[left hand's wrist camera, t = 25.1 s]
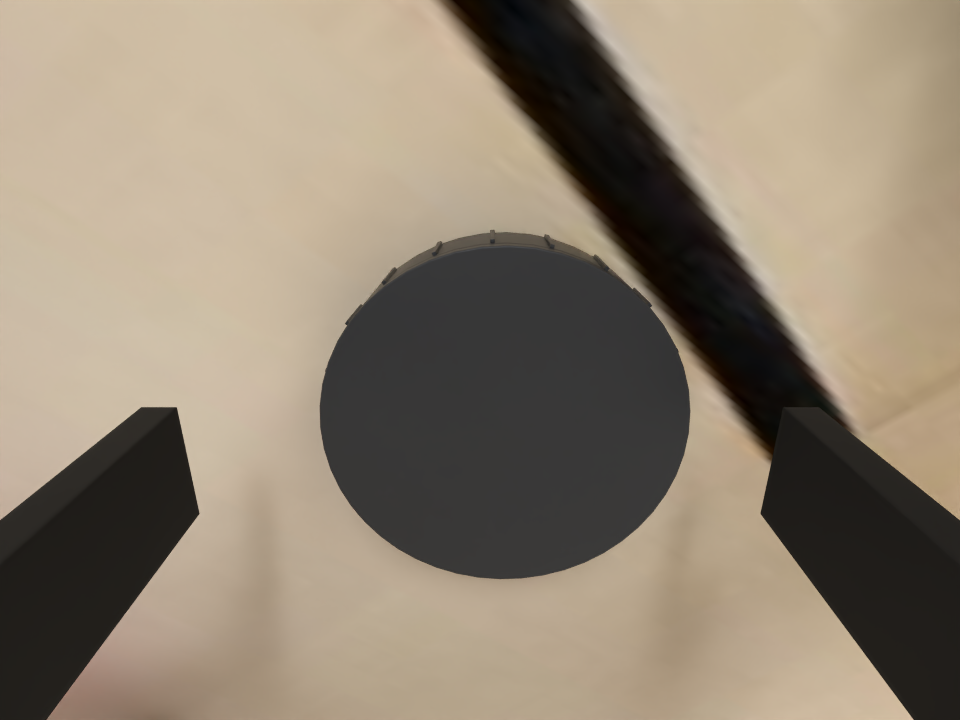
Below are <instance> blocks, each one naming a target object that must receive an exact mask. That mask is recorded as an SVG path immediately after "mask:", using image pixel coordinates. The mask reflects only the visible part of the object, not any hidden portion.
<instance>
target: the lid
mask: <svg viewBox="0 0 960 720" xmlns="http://www.w3.org/2000/svg"><path fill="white" fill-rule="evenodd" d="M651 306H652V305H651V304H650V303H649V302H648V301H647V300H646V299H645V298H644V297H643V296H642V295H641V294H640V293H639V292H638V291H637V290H636V289H635V288H633V289H631V288H630V287H629V286H628V285H627V284H626V283H625V282H624V281H623V280H622V279H621V278H620V277H619V276H618V275H617V274H616V273H615V272H614V271H613V270H611V269H610V268H609V267H608V266H607V265H606V264H605V263H604V262H603V261H602V260H601V259H600V258H599V257H598V256H597V255H594V257H593V256H591V255H589V254H587V253H585V252H583V251H581V250H579V249H577V248H575V247H573V246H570V245H567V244H565V243H562V242H559V241H556V240H554V239H551V238H550V237H549V235H546V234H545V236H544V237H540V236H536V235H531V234H521V233H508V232H504V233H495V231H494V230H490V233H486V234H478V235H473V236H468V237H462V238H458V239H455V240H452V241H449V242H446V243H443V244H442V242H441V241H440V242H438V243H437V244H436V246H435V247H433V248H431V249H429V250H427V251H425V252H423V253H421V254H419V255H417V256H415V257H414V258H412V259H411V260H409V261H408V262H407V263H405V264H404V265H402V266H401V267H399V268H398V269H396V268H395V267H394V268H393V269H392V270H391V271H390V273H389V274H388V275H387V276H386V277H385V279H384V280H383V281H382V283H381V284H380V285H379V287H378V288H377V289H376V290H375V291H374V293H373V294H372V295H371V296H370V297H369V299H368V300H367V301H366V302H365V303H364V305H360V306H359V307H358V308H357V309H356V311H355V312H354V313H353V314H352V315H351V317H350V318H349V319H348V320H347V321H346V323H345V324H346V325H347V327H346V328H345V330H344V331H343V333H342V335H341V336H340V338H339V339H338V341H337V343H336V346H335V348H334V350H333V353H332V355H331V357H330V359H329V362H328V365H327V368H326V371H325V372H326V373H325V376H324V380H323V384H322V392H321V400H320V428H321V434H322V440H323V446H324V450H325V453H326V456H327V460H328V463H329V466H330V469H331V471H332V473H333V475H334V477H335V479H336V482H337V484H338V486H339V488H340V489H341V491H342V493H343V494H344V496H345V497H346V499H347V500H348V502H349V503H350V505H351V506H352V507H353V509H354V510H355V511H356V512H357V513H358V514H359V516H360V517H361V518H362V519H363V520H364V521H365V523H367V524H368V525H369V526H370V527H371V528H372V529H373V530H374V531H375V532H376V533H377V534H379V535H380V536H381V537H382V538H384V539H385V540H386V541H388V542H389V543H391V544H392V545H393V546H395V547H396V548H398V549H399V550H401V551H403V552H405V553H406V554H408V555H410V556H412V557H414V558H415V559H417V560H420V561H422V562H425V563H427V564H429V565H432V566H434V567H437V568H440V569H443V570H447V571H450V572H453V573H457V574H462V575H468V576H473V577H480V578H493V579H515V578H527V577H535V576H542V575H546V574H550V573H554V572H558V571H562V570H566V569H568V568H571V567H574V566H577V565H579V564H582V563H585V562H587V561H589V560H591V559H593V558H595V557H597V556H599V555H601V554H603V553H604V552H606V551H608V550H609V549H611V548H612V547H614V546H615V545H617V544H618V543H620V542H621V541H623V540H624V539H625V538H626V537H627V536H629V535H630V534H631V533H632V532H633V531H635V530H636V529H637V528H638V527H639V526H640V525H641V524H642V523H643V522H644V521H645V520H646V519H647V518H648V517H649V516H650V515H651V514H652V512H653V511H654V510H655V509H656V507H657V506H658V504H659V503H660V502H661V500H662V499H663V498H664V496H665V495H666V493H667V491H668V489H669V488H670V486H671V484H672V482H673V480H674V478H675V477H676V474H677V472H678V469H679V466H680V464H681V461H682V458H683V456H684V452H685V447H686V443H687V438H688V434H689V422H690V401H689V389H688V384H687V380H686V375H685V371H684V367H683V364H682V361H681V359H680V356H679V354H678V349H677V348H676V346H675V344H674V342H673V341H672V339H671V337H670V335H669V334H668V332H667V330H666V328H665V327H664V325H663V324H662V322H661V321H660V320H659V319H658V317H657V316H656V315H655V313H654V312H653V311H652V310H651V308H650V307H651Z"/></svg>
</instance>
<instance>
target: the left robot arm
mask: <svg viewBox="0 0 960 720" xmlns="http://www.w3.org/2000/svg"><path fill="white" fill-rule="evenodd" d="M198 515H199V509H198V505H197V500H196V495H195V491H194V486H193V481H192V477H191V472H190V467H189V463H188V458H187V453H186V448H185V444H184V439H183V434H182V430H181V425H180V420H179V416H178V411H177V407H141V408H140V409H139V410H137V411H136V412H135V413H134V414H132V415H131V416H130V417H129V418H127V419H126V420H125V421H124V422H122V423H121V424H120V425H119V426H117V427H116V428H115V429H114V430H112V431H111V432H110V433H109V434H107V435H106V436H105V437H104V438H102V439H101V440H100V441H99V442H97V443H96V444H95V445H94V446H92V447H91V448H90V449H89V450H87V451H86V452H85V453H84V454H82V455H81V456H80V457H79V458H78V459H76V460H75V461H74V462H73V463H71V464H70V465H69V466H68V467H66V468H65V469H64V470H63V471H61V472H60V473H59V474H58V475H56V476H55V477H54V478H53V479H51V480H50V481H49V482H48V483H46V484H45V485H44V486H43V487H41V488H40V489H39V490H38V491H36V492H35V493H34V494H33V495H31V496H30V497H29V498H28V499H26V500H25V501H24V502H23V503H21V504H20V505H19V506H18V507H16V508H15V509H14V510H13V511H11V512H10V513H9V514H8V515H6V516H5V517H4V518H3V519H1V520H0V720H46V719H47V718H48V717H49V715H50V714H51V713H52V711H53V710H54V709H55V707H56V706H57V705H58V703H59V702H60V700H61V699H62V698H63V696H64V695H65V694H66V692H67V691H68V690H69V688H70V687H71V686H72V684H73V683H74V682H75V680H76V679H77V678H78V676H79V675H80V674H81V672H82V671H83V670H84V668H85V667H86V666H87V664H88V663H89V661H90V660H91V659H92V657H93V656H94V655H95V653H96V652H97V651H98V649H99V648H100V647H101V645H102V644H103V643H104V641H105V640H106V639H107V637H108V636H109V635H110V633H111V632H112V631H113V629H114V628H115V627H116V625H117V624H118V622H119V621H120V620H121V618H122V617H123V616H124V614H125V613H126V612H127V610H128V609H129V608H130V606H131V605H132V604H133V602H134V601H135V600H136V598H137V597H138V596H139V594H140V593H141V592H142V590H143V589H144V588H145V586H146V585H147V584H148V582H149V581H150V579H151V578H152V577H153V575H154V574H155V573H156V571H157V570H158V569H159V567H160V566H161V565H162V563H163V562H164V561H165V559H166V558H167V557H168V555H169V554H170V553H171V551H172V550H173V549H174V547H175V546H176V545H177V543H178V542H179V540H180V539H181V538H182V536H183V535H184V534H185V532H186V531H187V530H188V528H189V527H190V526H191V524H192V523H193V522H194V520H195V519H196V518H197V516H198ZM761 515H762V516H763V518H764V519H765V520H766V522H767V523H768V524H769V526H770V527H771V528H772V530H773V531H774V532H775V534H776V535H777V536H778V538H779V539H780V540H781V542H782V543H783V545H784V546H785V547H786V549H787V550H788V551H789V553H790V554H791V555H792V557H793V558H794V559H795V561H796V562H797V563H798V565H799V566H800V567H801V569H802V570H803V571H804V573H805V574H806V575H807V577H808V578H809V579H810V581H811V582H812V584H813V585H814V586H815V588H816V589H817V590H818V592H819V593H820V594H821V596H822V597H823V598H824V600H825V601H826V602H827V604H828V605H829V606H830V608H831V609H832V610H833V612H834V613H835V614H836V616H837V617H838V618H839V620H840V621H841V623H842V624H843V625H844V627H845V628H846V629H847V631H848V632H849V633H850V635H851V636H852V637H853V639H854V640H855V641H856V643H857V644H858V645H859V647H860V648H861V649H862V651H863V652H864V653H865V655H866V656H867V657H868V659H869V660H870V661H871V663H872V664H873V666H874V667H875V668H876V670H877V671H878V672H879V674H880V675H881V676H882V678H883V679H884V680H885V682H886V683H887V684H888V686H889V687H890V688H891V690H892V691H893V692H894V694H895V695H896V696H897V698H898V699H899V700H900V702H901V703H902V705H903V706H904V707H905V709H906V710H907V711H908V713H909V714H910V715H911V717H912V718H913V719H914V720H960V520H959V519H957V518H956V517H955V516H954V515H952V514H951V513H950V512H949V511H947V510H946V509H945V508H944V507H942V506H941V505H940V504H939V503H937V502H936V501H935V500H934V499H932V498H931V497H930V496H929V495H927V494H926V493H925V492H924V491H922V490H921V489H920V488H919V487H917V486H916V485H915V484H914V483H912V482H911V481H910V480H909V479H907V478H906V477H905V476H904V475H902V474H901V473H900V472H899V471H897V470H896V469H895V468H894V467H892V466H891V465H890V464H889V463H887V462H886V461H885V460H884V459H882V458H881V457H880V456H879V455H877V454H876V453H875V452H874V451H872V450H871V449H870V448H869V447H868V446H866V445H865V444H864V443H863V442H861V441H860V440H859V439H858V438H856V437H855V436H854V435H853V434H851V433H850V432H849V431H848V430H846V429H845V428H844V427H843V426H841V425H840V424H839V423H838V422H836V421H835V420H834V419H833V418H831V417H830V416H829V415H828V414H826V413H825V412H824V411H823V410H821V409H820V408H819V407H783V411H782V416H781V420H780V425H779V430H778V434H777V439H776V444H775V448H774V453H773V458H772V463H771V467H770V472H769V477H768V481H767V486H766V491H765V495H764V500H763V505H762V509H761Z"/></svg>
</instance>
